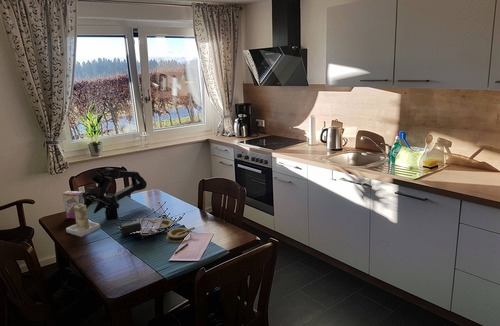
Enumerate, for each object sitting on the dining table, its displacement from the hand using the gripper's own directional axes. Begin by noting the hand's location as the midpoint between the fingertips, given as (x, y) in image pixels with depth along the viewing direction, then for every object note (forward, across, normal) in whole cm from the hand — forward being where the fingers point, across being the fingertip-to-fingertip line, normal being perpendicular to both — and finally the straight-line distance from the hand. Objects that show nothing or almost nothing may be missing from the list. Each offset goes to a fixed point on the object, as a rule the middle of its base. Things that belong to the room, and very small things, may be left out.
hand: (89, 211), depth 214 cm
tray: (+10, 0, +3) cm, 11 cm away
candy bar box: (+3, -20, +10) cm, 23 cm away
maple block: (+10, 0, +3) cm, 10 cm away
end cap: (+4, +29, +9) cm, 31 cm away
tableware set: (-4, +46, +18) cm, 50 cm away
